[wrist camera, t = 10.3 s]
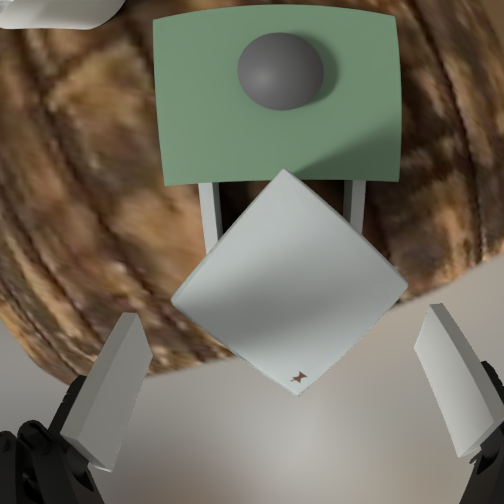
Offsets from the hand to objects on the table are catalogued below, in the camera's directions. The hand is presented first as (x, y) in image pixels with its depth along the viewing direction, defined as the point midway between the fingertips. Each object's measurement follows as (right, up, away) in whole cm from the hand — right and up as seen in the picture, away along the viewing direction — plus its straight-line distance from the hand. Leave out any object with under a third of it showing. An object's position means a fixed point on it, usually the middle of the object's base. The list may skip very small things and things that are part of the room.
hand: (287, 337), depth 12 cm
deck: (+1, +11, +10) cm, 14 cm away
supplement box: (+1, +4, +11) cm, 12 cm away
